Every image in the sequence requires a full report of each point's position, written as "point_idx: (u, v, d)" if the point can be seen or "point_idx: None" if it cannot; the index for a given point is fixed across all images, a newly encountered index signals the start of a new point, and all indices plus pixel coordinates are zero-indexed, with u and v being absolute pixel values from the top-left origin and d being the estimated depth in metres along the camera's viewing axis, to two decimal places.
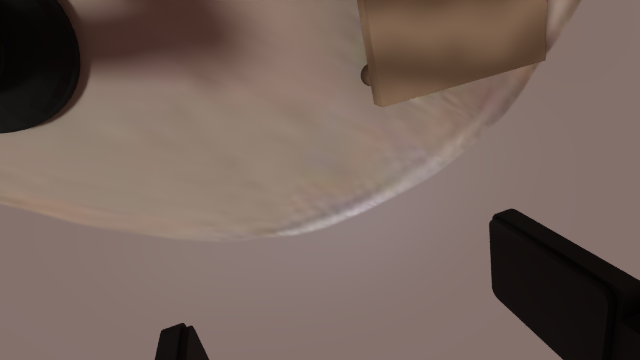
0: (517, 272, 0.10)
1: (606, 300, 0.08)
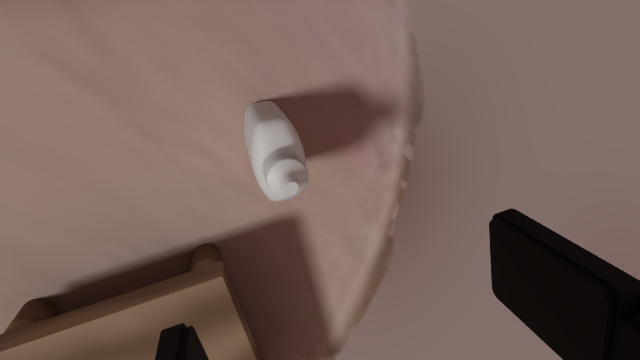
0: (517, 272, 0.10)
1: (606, 300, 0.08)
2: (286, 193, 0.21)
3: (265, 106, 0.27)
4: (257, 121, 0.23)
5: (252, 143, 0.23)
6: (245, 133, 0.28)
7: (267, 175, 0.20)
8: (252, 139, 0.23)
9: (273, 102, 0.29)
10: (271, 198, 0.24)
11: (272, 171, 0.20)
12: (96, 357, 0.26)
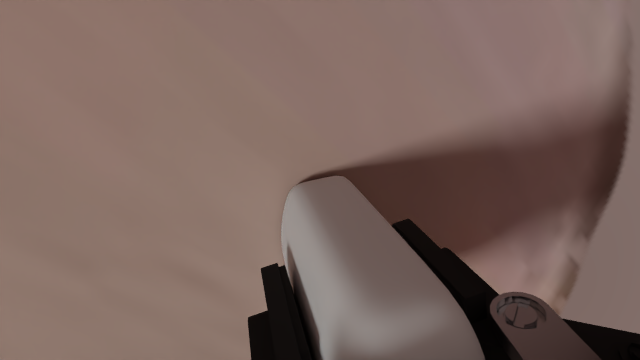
0: None
1: None
2: None
3: (342, 205, 0.11)
4: (356, 305, 0.07)
5: None
6: (289, 261, 0.12)
7: None
8: None
9: (348, 181, 0.13)
10: None
11: None
12: None
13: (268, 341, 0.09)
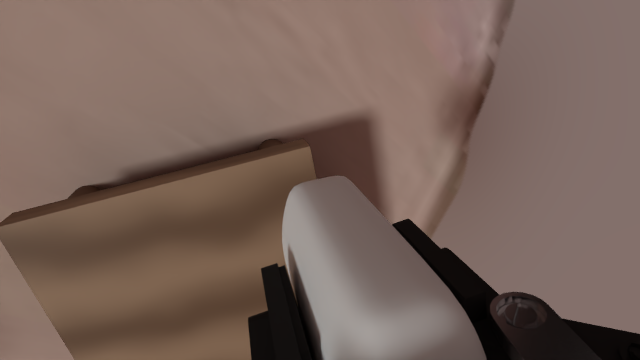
0: None
1: None
2: None
3: (343, 205, 0.11)
4: (357, 305, 0.07)
5: None
6: (290, 260, 0.12)
7: None
8: None
9: (349, 181, 0.13)
10: None
11: None
12: (164, 232, 0.22)
13: (268, 341, 0.09)
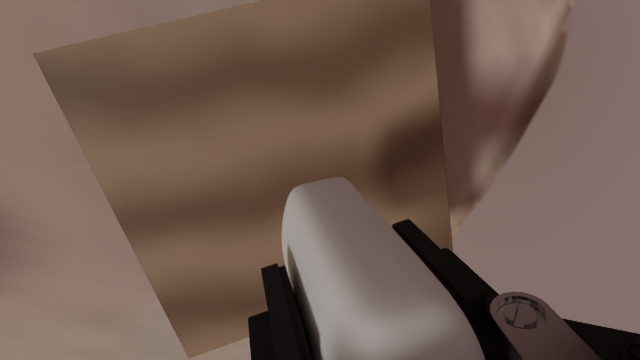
0: None
1: None
2: None
3: (343, 207, 0.11)
4: (356, 308, 0.07)
5: None
6: (290, 262, 0.12)
7: None
8: None
9: (349, 182, 0.13)
10: None
11: None
12: (246, 75, 0.18)
13: (268, 341, 0.09)
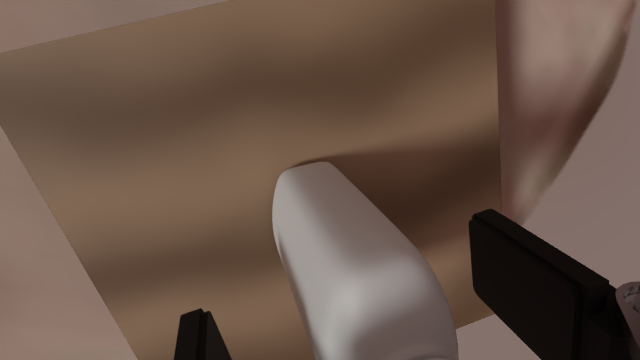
0: (494, 270, 0.11)
1: (572, 297, 0.08)
2: None
3: (327, 185, 0.12)
4: (338, 262, 0.08)
5: (327, 326, 0.08)
6: (280, 238, 0.13)
7: None
8: (326, 314, 0.08)
9: (333, 166, 0.14)
10: None
11: None
12: (256, 89, 0.13)
13: None
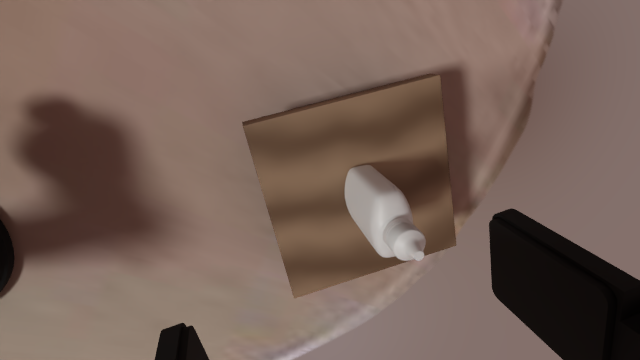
0: (517, 272, 0.10)
1: (606, 300, 0.08)
2: (408, 257, 0.25)
3: (370, 173, 0.31)
4: (376, 192, 0.28)
5: (372, 211, 0.27)
6: (350, 194, 0.32)
7: (394, 243, 0.25)
8: (372, 207, 0.27)
9: None
10: (383, 255, 0.28)
11: (399, 239, 0.25)
12: (342, 134, 0.33)
13: None
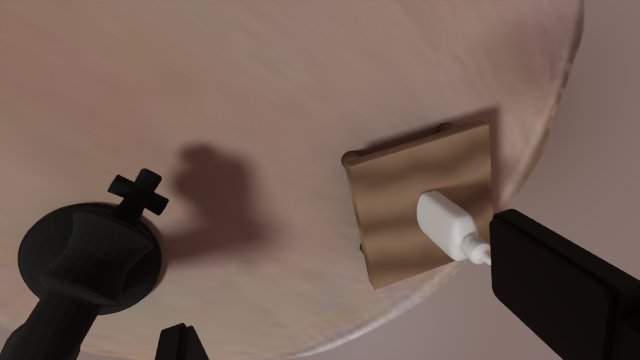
0: (517, 272, 0.10)
1: (606, 300, 0.08)
2: (480, 262, 0.37)
3: (441, 198, 0.43)
4: (453, 216, 0.39)
5: (450, 229, 0.39)
6: (425, 213, 0.44)
7: (472, 252, 0.37)
8: (450, 227, 0.39)
9: (438, 192, 0.45)
10: (456, 259, 0.40)
11: (475, 250, 0.37)
12: (417, 169, 0.44)
13: None
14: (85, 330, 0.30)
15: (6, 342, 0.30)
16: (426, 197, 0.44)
